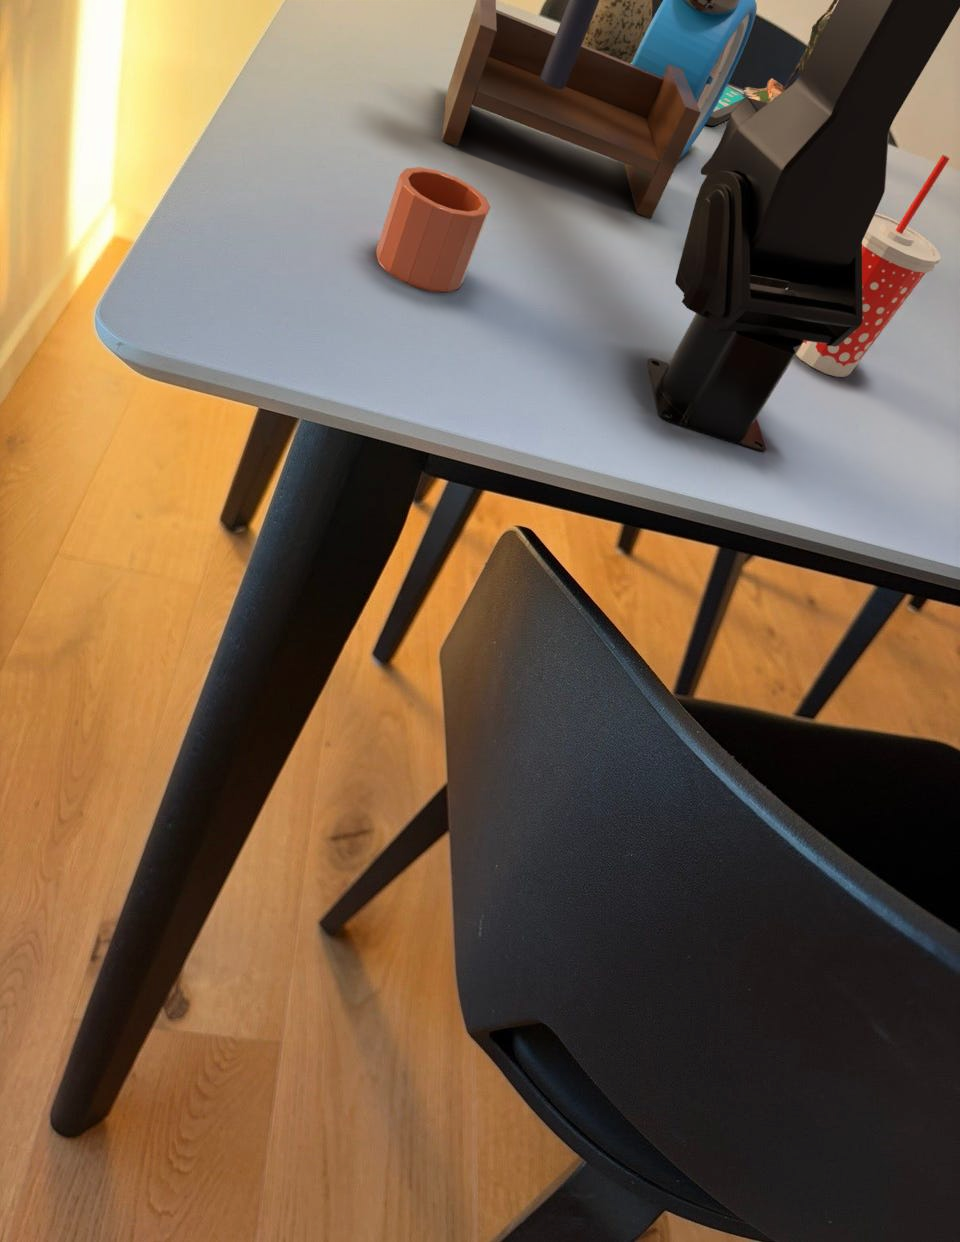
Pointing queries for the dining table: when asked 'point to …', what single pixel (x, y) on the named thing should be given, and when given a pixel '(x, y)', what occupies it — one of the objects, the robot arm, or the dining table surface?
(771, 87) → the plant with pod
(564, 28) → the marker
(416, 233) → the pen cup
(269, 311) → the dining table surface
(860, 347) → the beverage cup
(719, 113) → the smartphone
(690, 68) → the alarm clock
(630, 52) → the decorative egg
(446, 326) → the dining table surface
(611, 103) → the shelf
